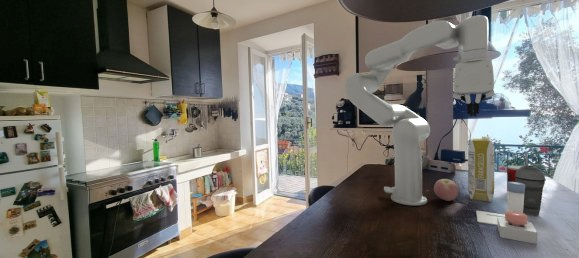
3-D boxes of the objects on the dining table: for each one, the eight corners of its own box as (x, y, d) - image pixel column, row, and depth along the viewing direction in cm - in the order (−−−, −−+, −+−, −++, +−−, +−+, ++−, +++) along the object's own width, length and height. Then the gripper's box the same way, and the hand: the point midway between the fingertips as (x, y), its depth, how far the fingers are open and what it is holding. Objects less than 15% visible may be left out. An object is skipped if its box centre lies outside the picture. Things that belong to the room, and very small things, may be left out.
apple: (431, 200, 96) (431, 180, 96) (437, 195, 101) (437, 176, 101) (455, 205, 90) (455, 183, 90) (460, 199, 96) (460, 179, 95)
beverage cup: (535, 219, 77) (535, 154, 76) (508, 210, 84) (509, 151, 83) (551, 216, 78) (552, 152, 78) (524, 208, 86) (524, 149, 85)
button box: (500, 237, 66) (500, 226, 66) (497, 227, 72) (497, 217, 72) (536, 244, 62) (537, 232, 62) (530, 232, 68) (530, 222, 68)
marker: (507, 222, 74) (509, 184, 74) (504, 217, 77) (506, 181, 77) (524, 224, 72) (527, 185, 72) (520, 220, 76) (522, 182, 75)
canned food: (539, 197, 95) (540, 168, 95) (518, 198, 96) (518, 169, 95) (521, 191, 103) (522, 165, 103) (502, 192, 103) (502, 165, 103)
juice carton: (494, 203, 91) (494, 137, 90) (467, 199, 96) (467, 137, 94) (493, 196, 98) (493, 135, 97) (468, 193, 103) (468, 135, 102)
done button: (506, 233, 67) (506, 215, 66) (503, 227, 70) (504, 209, 70) (528, 237, 64) (528, 218, 64) (525, 231, 68) (525, 212, 68)
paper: (477, 222, 76) (477, 220, 76) (476, 211, 84) (476, 210, 84) (532, 231, 69) (532, 229, 69) (524, 218, 77) (524, 217, 77)
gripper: (444, 59, 80) (444, 117, 81) (505, 51, 72) (505, 115, 73) (445, 63, 86) (446, 116, 87) (502, 56, 78) (502, 115, 79)
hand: (472, 116), depth 80 cm, fingers closed
